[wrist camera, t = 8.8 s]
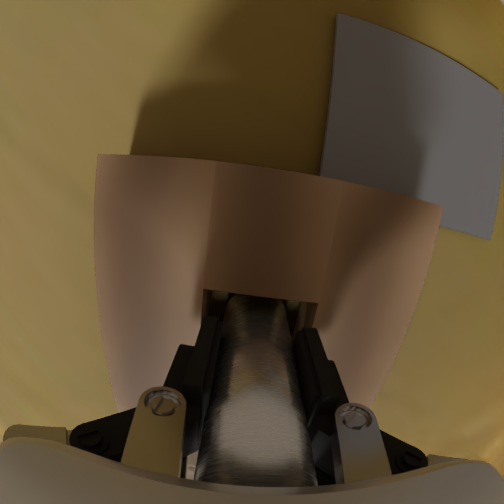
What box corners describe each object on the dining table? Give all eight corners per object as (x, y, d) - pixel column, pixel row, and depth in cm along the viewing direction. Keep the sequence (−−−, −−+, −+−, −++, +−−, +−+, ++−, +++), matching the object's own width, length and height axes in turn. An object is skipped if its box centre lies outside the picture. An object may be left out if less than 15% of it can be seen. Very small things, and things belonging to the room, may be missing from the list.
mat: (498, 93, 10) (502, 93, 10) (486, 238, 13) (490, 240, 13) (335, 15, 10) (337, 12, 9) (314, 198, 13) (316, 199, 12)
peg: (291, 292, 13) (341, 493, 4) (279, 343, 14) (300, 529, 5) (228, 284, 13) (186, 488, 4) (222, 336, 14) (189, 524, 4)
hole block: (409, 198, 12) (443, 206, 10) (340, 407, 16) (351, 439, 13) (128, 156, 12) (98, 154, 9) (133, 384, 16) (118, 414, 13)
